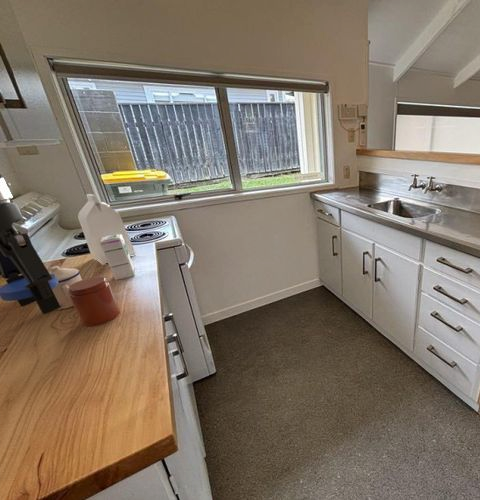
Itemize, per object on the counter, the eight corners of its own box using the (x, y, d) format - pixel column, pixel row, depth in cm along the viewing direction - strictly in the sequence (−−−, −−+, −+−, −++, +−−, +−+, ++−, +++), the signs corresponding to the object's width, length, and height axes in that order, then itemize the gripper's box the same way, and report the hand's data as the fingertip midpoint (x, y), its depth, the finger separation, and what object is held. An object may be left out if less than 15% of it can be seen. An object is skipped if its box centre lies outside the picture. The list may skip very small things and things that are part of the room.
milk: (92, 259, 116) (66, 196, 107) (125, 249, 125) (103, 191, 115) (102, 265, 110) (75, 199, 100) (136, 255, 119) (114, 193, 109)
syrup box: (135, 275, 100) (121, 237, 95) (114, 280, 97) (98, 241, 92) (135, 270, 105) (122, 233, 99) (115, 274, 102) (100, 236, 96)
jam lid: (52, 277, 65) (49, 270, 64) (64, 285, 61) (61, 278, 60) (-3, 294, 58) (-8, 287, 58) (7, 305, 54) (2, 297, 54)
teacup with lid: (47, 304, 84) (29, 269, 80) (86, 291, 91) (71, 258, 86) (55, 317, 77) (35, 280, 73) (96, 302, 84) (81, 267, 80)
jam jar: (81, 330, 72) (64, 294, 68) (83, 316, 78) (68, 282, 74) (120, 317, 76) (106, 283, 72) (120, 305, 82) (106, 273, 78)
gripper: (41, 201, 52) (89, 306, 61) (-13, 197, 60) (37, 290, 68) (-19, 212, 46) (44, 326, 54) (-71, 205, 53) (-8, 307, 62)
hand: (40, 306), depth 61 cm, fingers closed on jam lid, 8 cm apart
